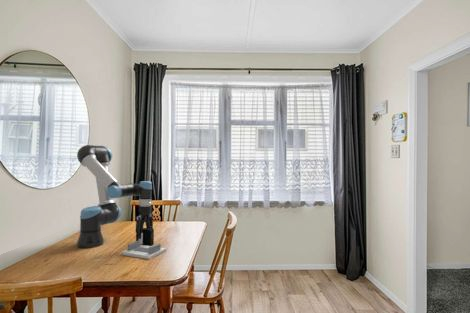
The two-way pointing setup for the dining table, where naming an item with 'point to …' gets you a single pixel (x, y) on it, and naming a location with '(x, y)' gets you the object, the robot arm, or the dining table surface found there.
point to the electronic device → (147, 236)
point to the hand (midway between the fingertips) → (144, 242)
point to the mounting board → (143, 250)
